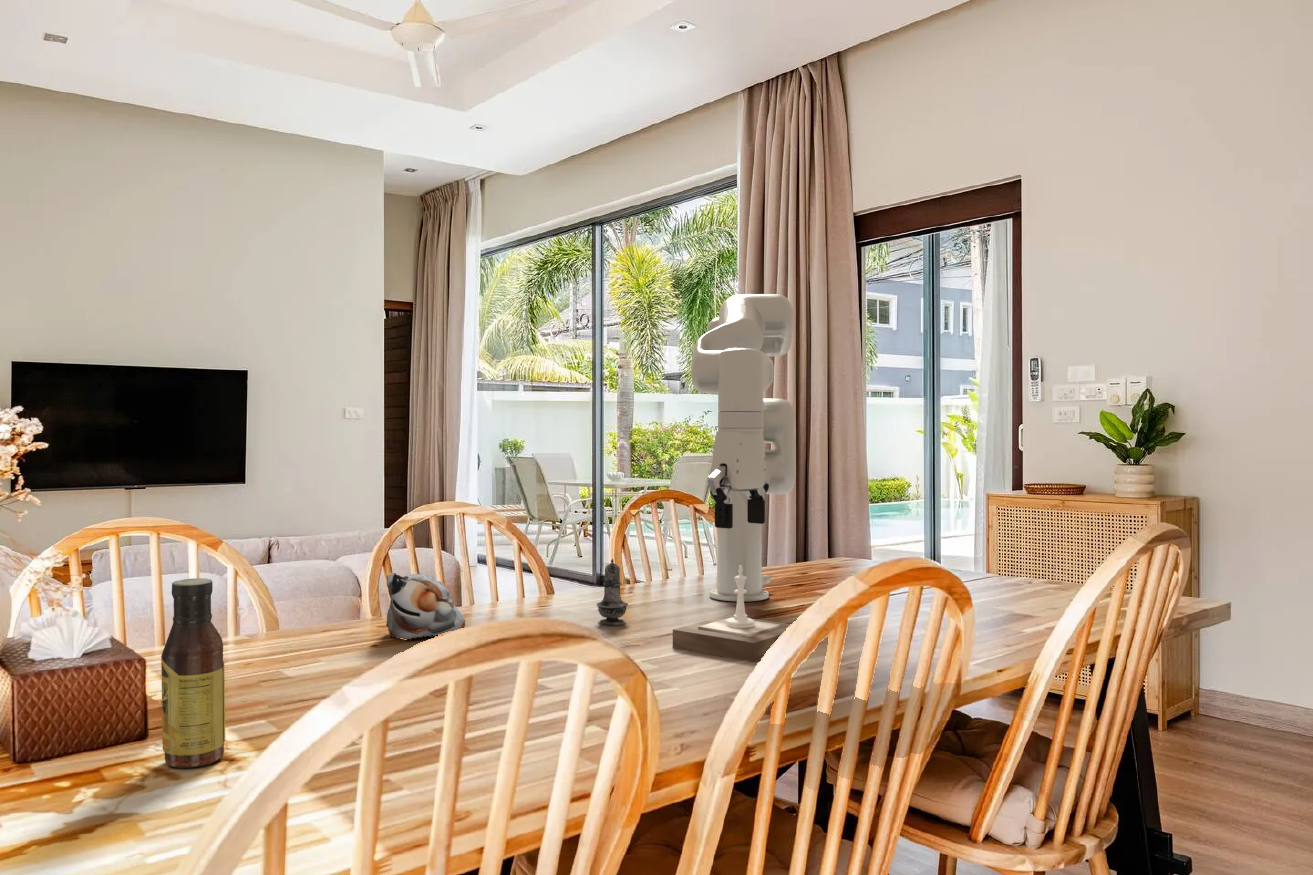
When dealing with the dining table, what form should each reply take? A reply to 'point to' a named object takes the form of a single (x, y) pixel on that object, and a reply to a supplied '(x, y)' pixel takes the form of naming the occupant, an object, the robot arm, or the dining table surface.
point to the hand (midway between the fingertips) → (740, 525)
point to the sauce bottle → (193, 680)
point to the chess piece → (740, 605)
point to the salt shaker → (612, 598)
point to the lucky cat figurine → (420, 607)
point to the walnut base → (728, 638)
